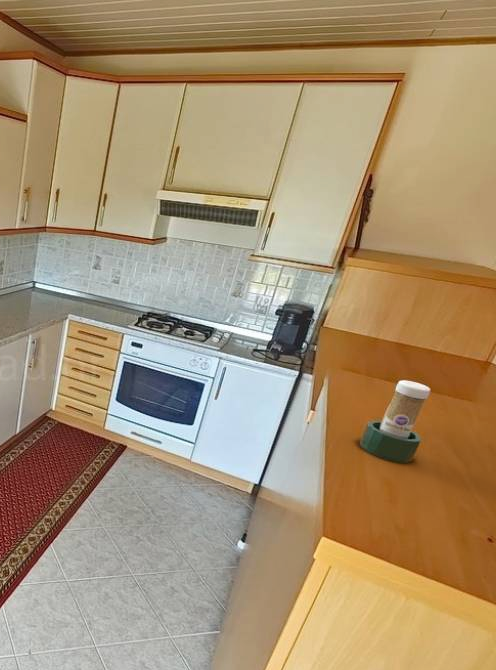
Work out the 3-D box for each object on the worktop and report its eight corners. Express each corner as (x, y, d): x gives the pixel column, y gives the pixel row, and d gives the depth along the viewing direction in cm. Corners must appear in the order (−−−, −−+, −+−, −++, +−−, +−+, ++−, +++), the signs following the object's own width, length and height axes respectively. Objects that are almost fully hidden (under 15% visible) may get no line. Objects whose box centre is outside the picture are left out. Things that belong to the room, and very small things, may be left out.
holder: (405, 449, 94) (415, 428, 93) (416, 467, 88) (427, 445, 86) (356, 436, 98) (364, 416, 96) (363, 453, 91) (372, 432, 89)
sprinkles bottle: (376, 451, 91) (405, 385, 86) (368, 440, 95) (395, 377, 90) (405, 458, 90) (436, 391, 85) (395, 446, 94) (424, 382, 89)
